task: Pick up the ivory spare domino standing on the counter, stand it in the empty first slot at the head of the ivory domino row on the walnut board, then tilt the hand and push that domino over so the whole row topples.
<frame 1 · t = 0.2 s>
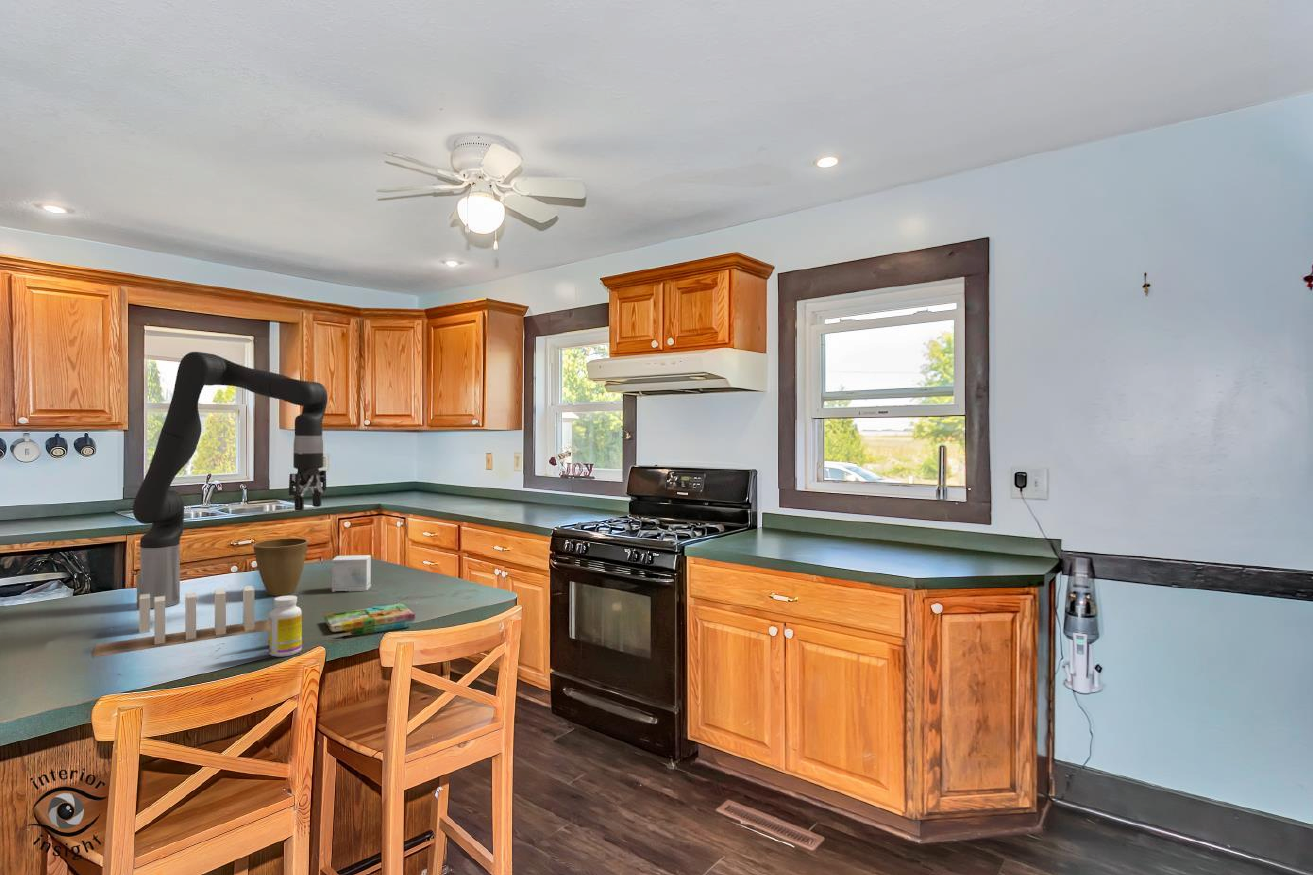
hand: (308, 508, 190), 29 cm above the table, tool pointing down, fingers open, 8 cm apart
domino 2: (159, 640, 158), point 1 cm above the table, touching domino board
domino 3: (190, 636, 161), point 1 cm above the table, touching domino board
plant pot: (281, 593, 208), on the table
domino 4: (220, 631, 165), point 1 cm above the table, touching domino board
skincare box: (351, 590, 214), on the table
puzzle game: (369, 629, 174), on the table
spare domino: (144, 636, 166), on the table
domino 5: (248, 627, 168), point 1 cm above the table, touching domino board
supplement bottle: (285, 653, 155), on the table
domino board: (190, 642, 161), on the table
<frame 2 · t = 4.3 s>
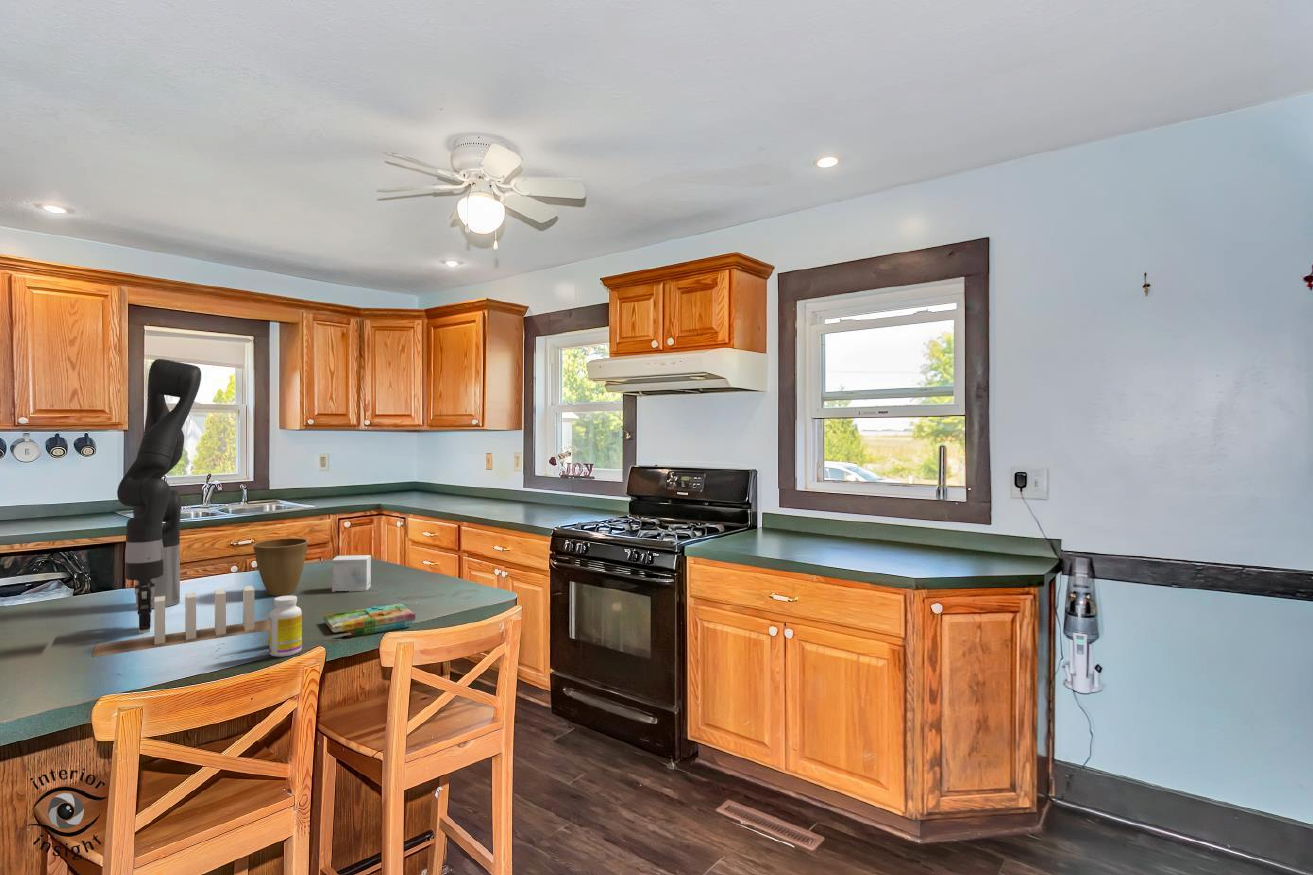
hand: (144, 626, 165), 2 cm above the table, tool pointing down, fingers closed on spare domino, 5 cm apart
spare domino: (144, 636, 166), on the table, touching gripper
everything else where it was.
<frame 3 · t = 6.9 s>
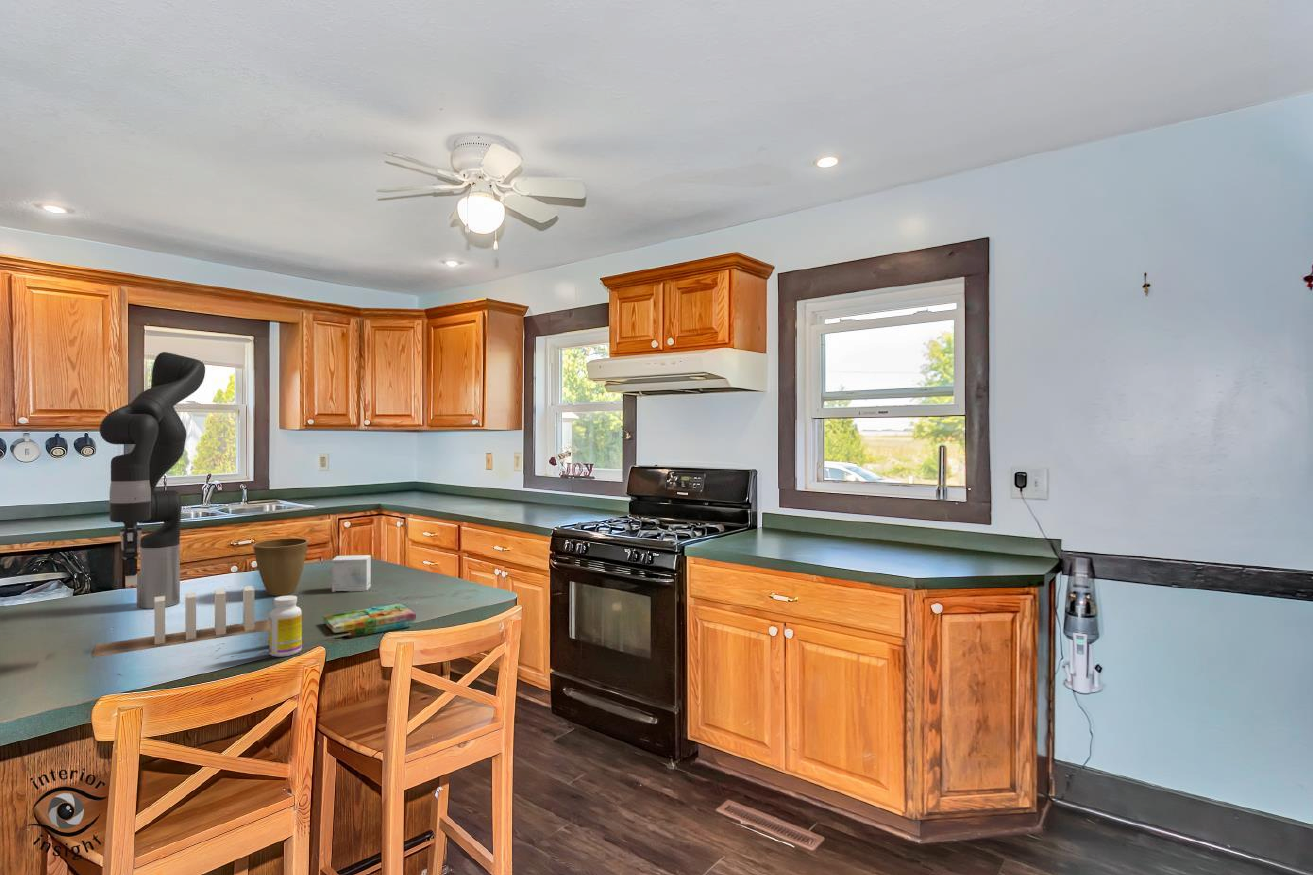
hand: (131, 573, 154), 18 cm above the table, tool pointing down, fingers closed on spare domino, 5 cm apart
spare domino: (131, 583, 154), point 16 cm above the table, touching gripper
everything else where it was.
when the fingers open (5 cm above the table, at t = 9.8 s): spare domino drops 1 cm, resting on domino board.
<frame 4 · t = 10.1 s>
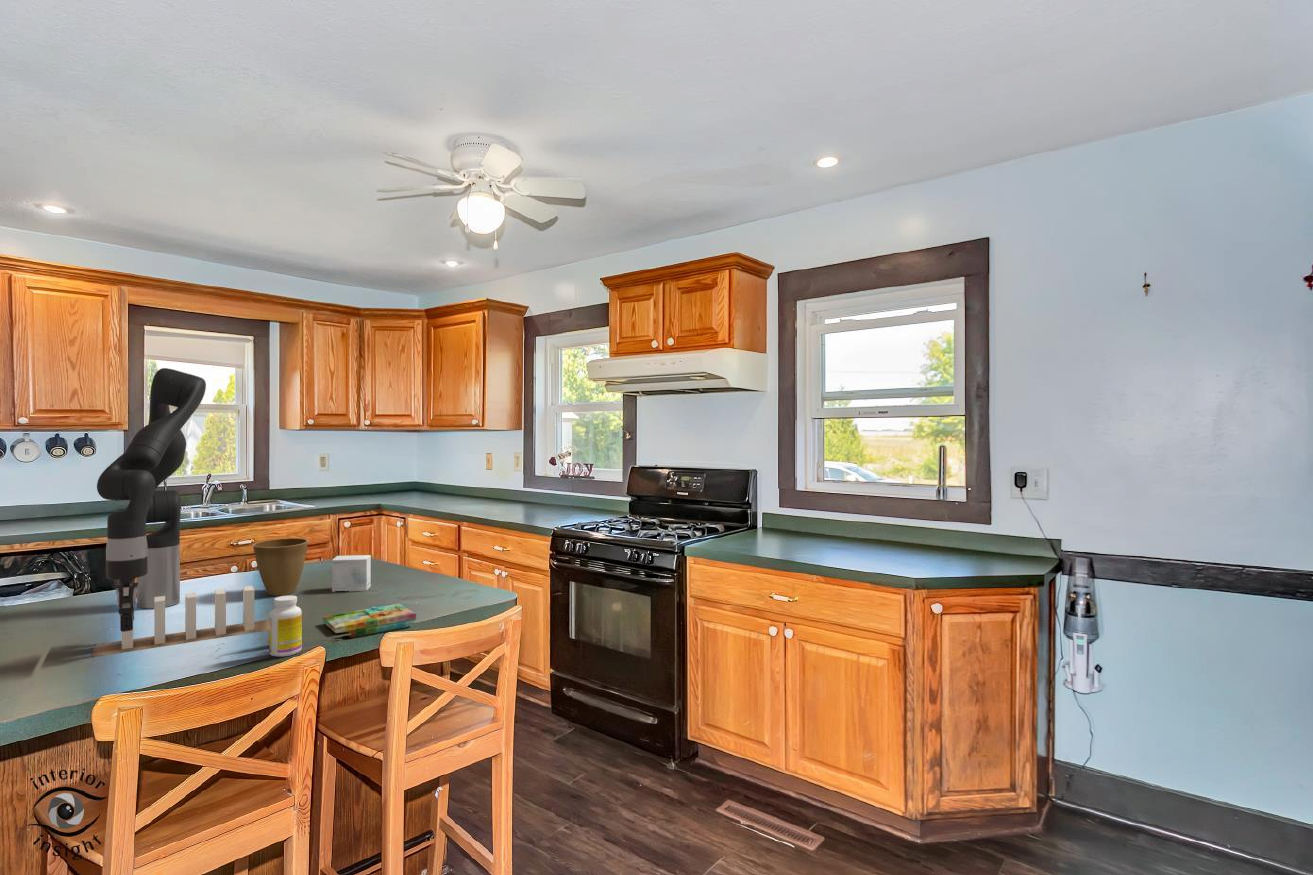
hand: (127, 626, 154), 6 cm above the table, tool pointing down, fingers open, 8 cm apart
spare domino: (127, 645, 154), point 2 cm above the table, touching domino board
everything else where it was.
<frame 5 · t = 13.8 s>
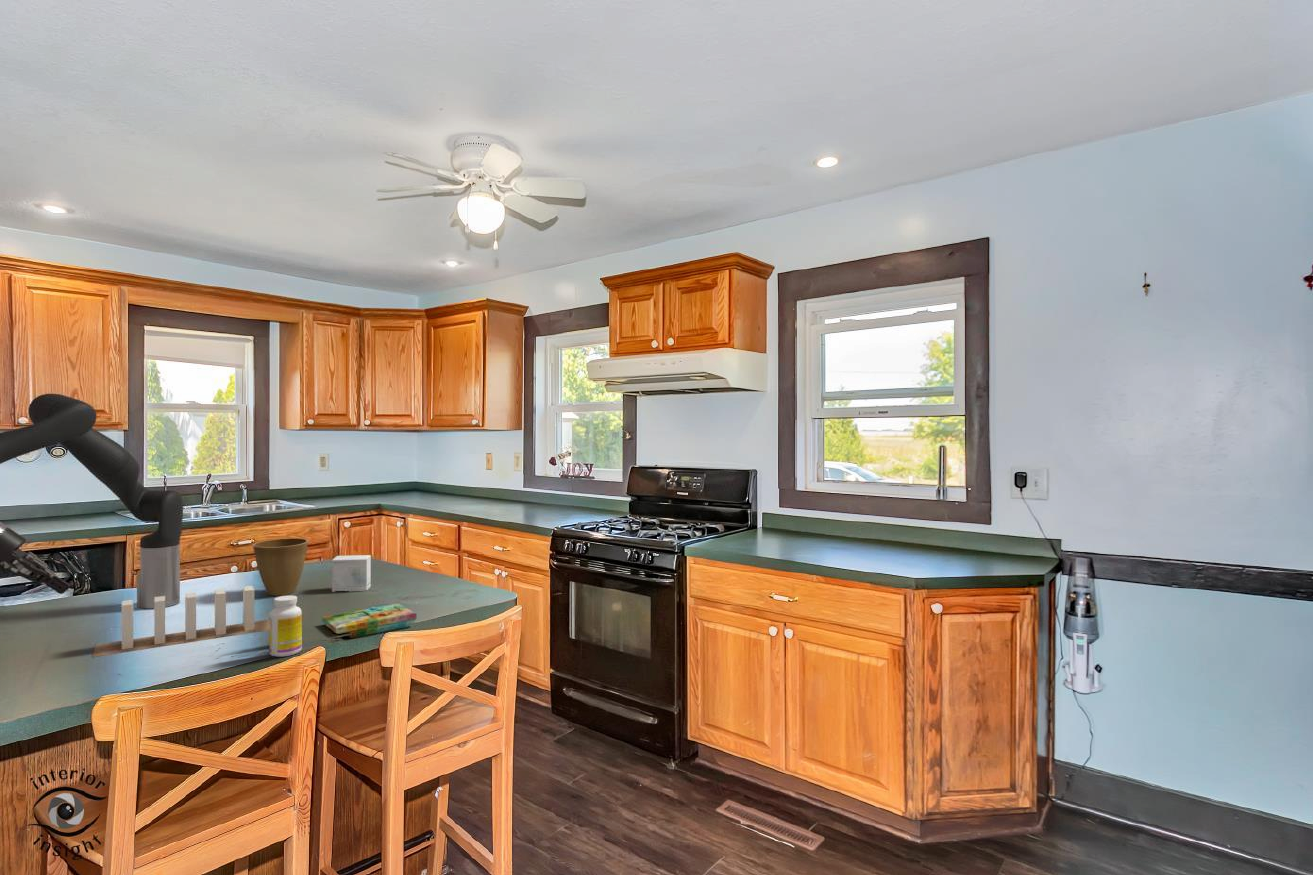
hand: (66, 590, 147), 16 cm above the table, tool tilted 45°, fingers closed
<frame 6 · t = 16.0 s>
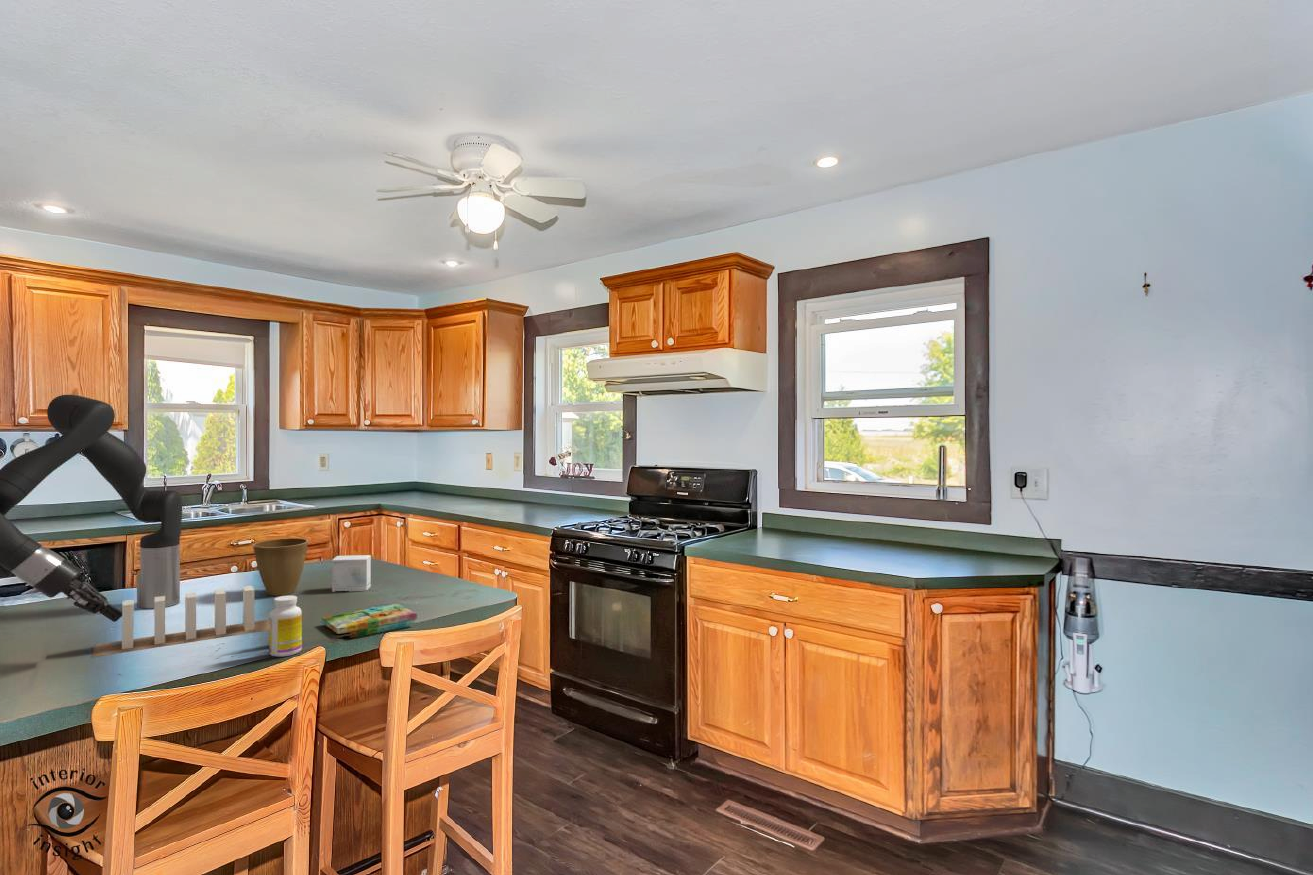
hand: (119, 617, 153), 8 cm above the table, tool tilted 45°, fingers closed
spare domino: (127, 645, 154), point 2 cm above the table, touching domino board, gripper
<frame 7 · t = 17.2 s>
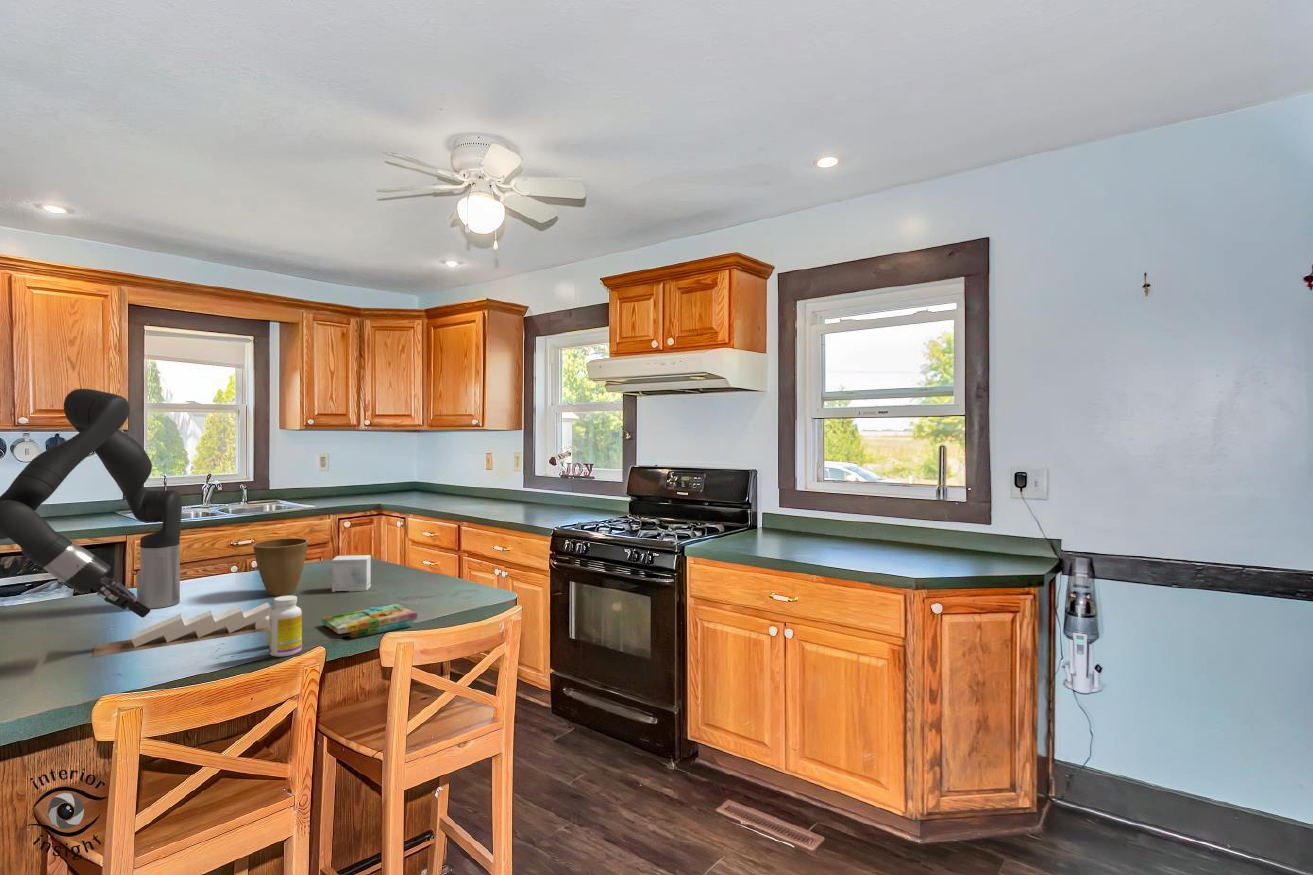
hand: (147, 613, 156), 8 cm above the table, tool tilted 45°, fingers closed
domino 2: (165, 636, 158), point 2 cm above the table, tilted 71°, touching domino 3, domino board, spare domino
domino 3: (196, 631, 162), point 2 cm above the table, tilted 71°, touching domino 2, domino 4, domino board
domino 4: (226, 627, 166), point 2 cm above the table, tilted 70°, touching domino 3, domino 5, domino board
spare domino: (133, 640, 155), point 2 cm above the table, tilted 70°, touching domino 2, domino board
domino 5: (254, 622, 169), point 2 cm above the table, tilted 90°, touching domino 4, domino board
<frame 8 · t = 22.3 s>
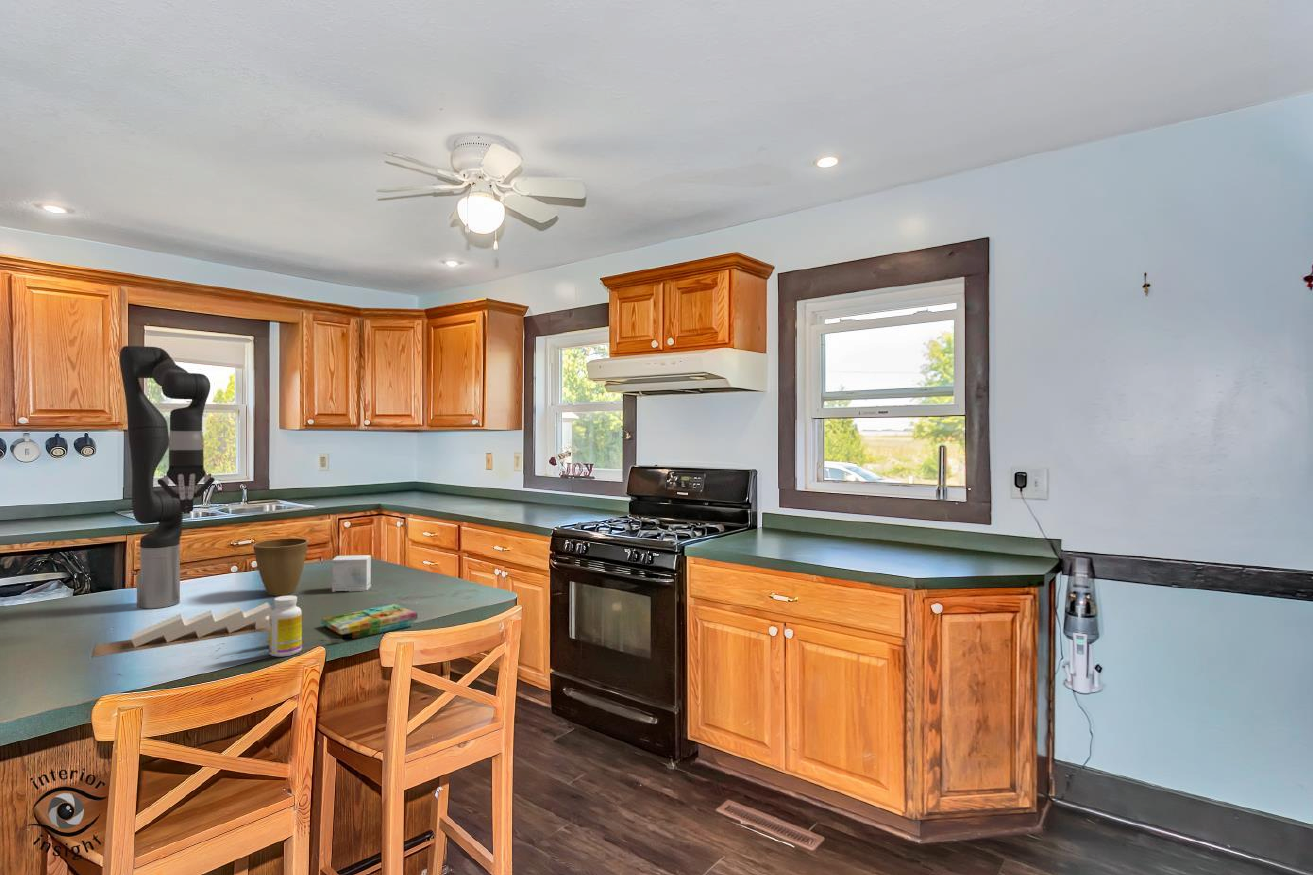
hand: (186, 513, 177), 29 cm above the table, tool pointing down, fingers closed
at the end: spare domino tilted 70°; domino 3 tilted 71°; domino 5 tilted 90° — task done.
